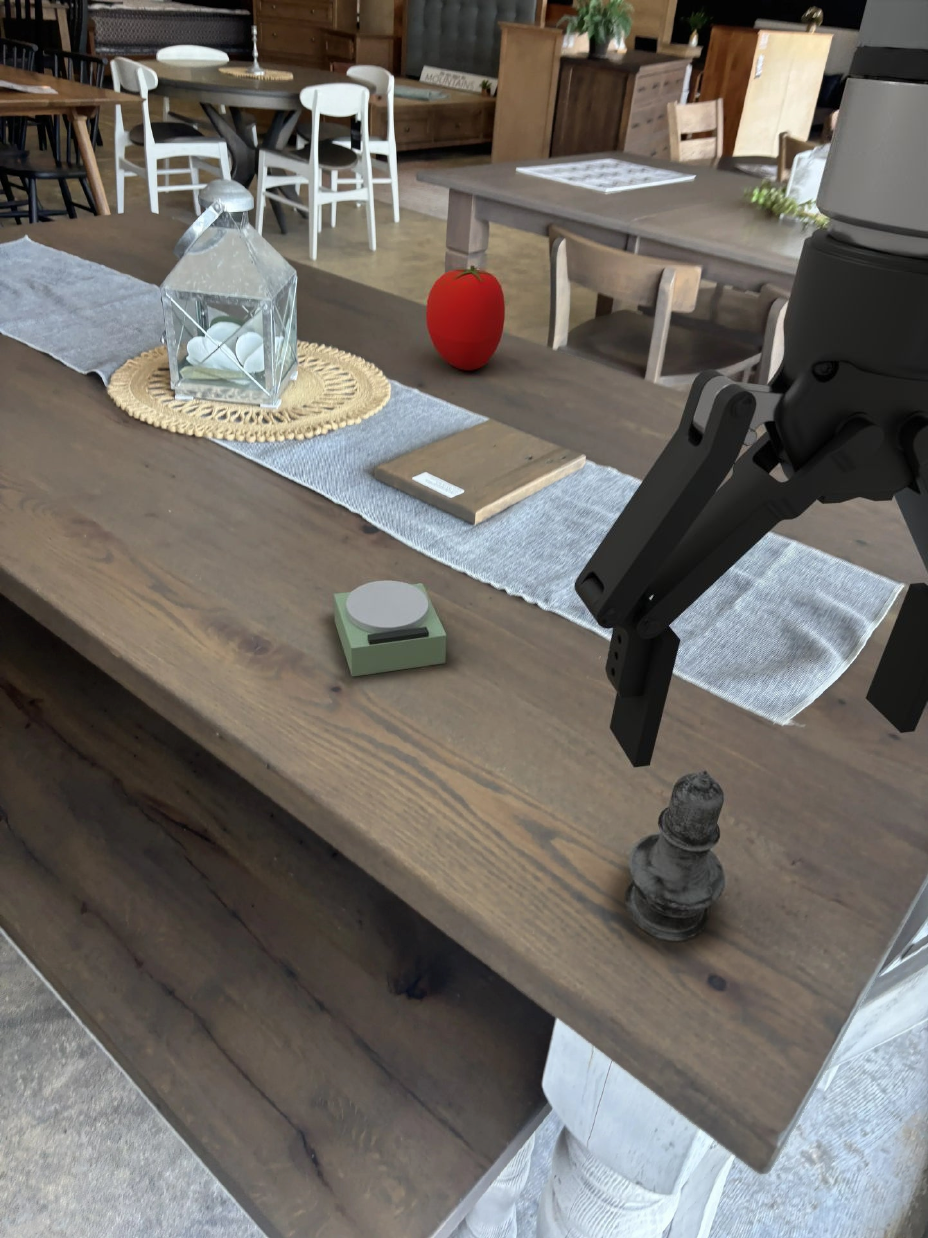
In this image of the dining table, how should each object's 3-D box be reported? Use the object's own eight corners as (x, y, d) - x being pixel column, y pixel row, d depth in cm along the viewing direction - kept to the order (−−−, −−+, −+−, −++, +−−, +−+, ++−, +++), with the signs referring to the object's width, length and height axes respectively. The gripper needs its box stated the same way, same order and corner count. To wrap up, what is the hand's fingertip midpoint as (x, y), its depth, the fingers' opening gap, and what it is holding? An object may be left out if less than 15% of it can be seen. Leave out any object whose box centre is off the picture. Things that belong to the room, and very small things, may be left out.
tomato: (505, 381, 130) (513, 279, 122) (426, 379, 129) (429, 276, 121) (495, 350, 140) (502, 255, 132) (422, 349, 139) (425, 252, 131)
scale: (445, 663, 77) (447, 627, 75) (351, 677, 75) (351, 640, 72) (421, 610, 83) (422, 575, 81) (334, 621, 81) (333, 585, 79)
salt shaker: (704, 959, 55) (751, 824, 48) (610, 925, 56) (642, 790, 49) (719, 886, 59) (764, 753, 52) (631, 856, 61) (664, 723, 54)
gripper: (1119, 229, 37) (934, 659, 48) (537, 203, 30) (482, 707, 41) (1307, 270, 31) (1044, 752, 42) (628, 248, 24) (535, 824, 35)
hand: (764, 730), depth 42 cm, fingers open, 13 cm apart
